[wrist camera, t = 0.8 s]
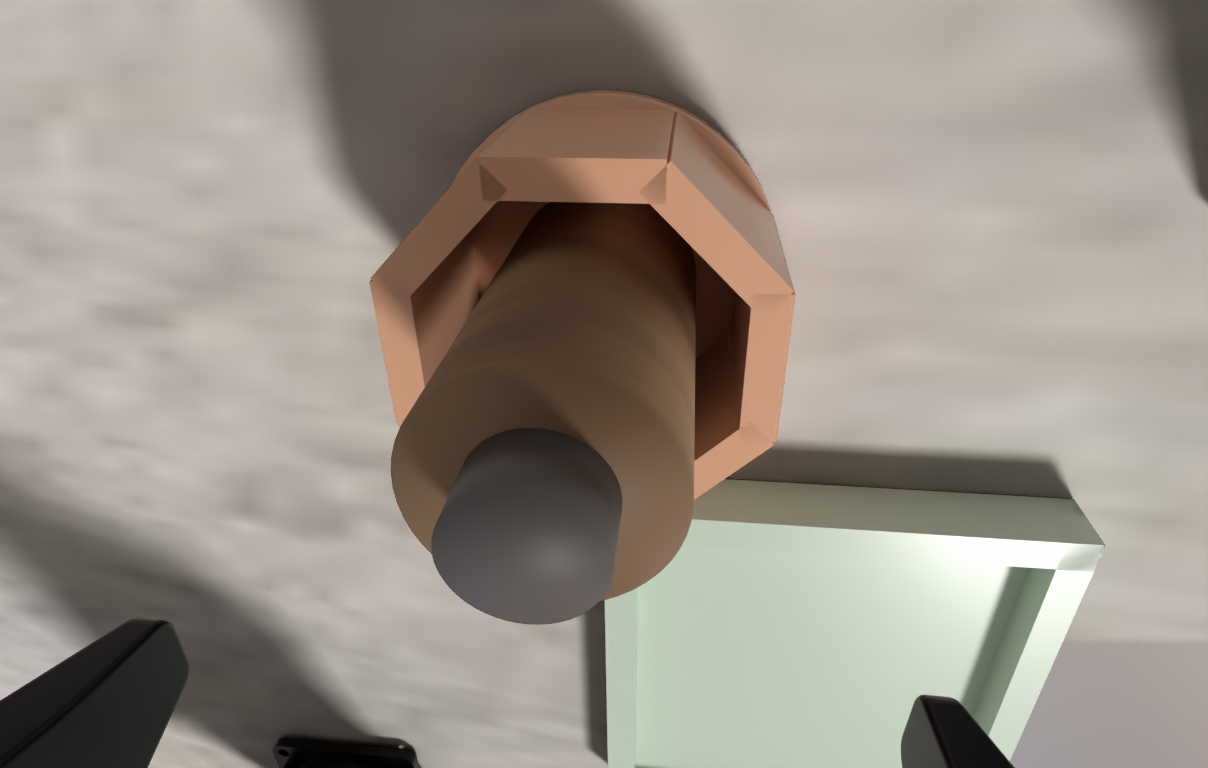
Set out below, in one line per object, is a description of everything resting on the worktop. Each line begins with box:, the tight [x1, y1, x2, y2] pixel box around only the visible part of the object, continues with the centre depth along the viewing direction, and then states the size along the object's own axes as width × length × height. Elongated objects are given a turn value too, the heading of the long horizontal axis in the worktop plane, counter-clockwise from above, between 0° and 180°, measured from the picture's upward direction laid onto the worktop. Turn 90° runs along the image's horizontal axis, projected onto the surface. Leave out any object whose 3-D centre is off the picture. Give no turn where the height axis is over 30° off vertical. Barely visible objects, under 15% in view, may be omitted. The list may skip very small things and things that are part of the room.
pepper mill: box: [391, 202, 696, 625], centre depth 15 cm, size 5×5×10 cm
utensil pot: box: [370, 90, 795, 500], centre depth 18 cm, size 9×9×6 cm
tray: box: [605, 479, 1105, 768], centre depth 26 cm, size 14×16×2 cm
